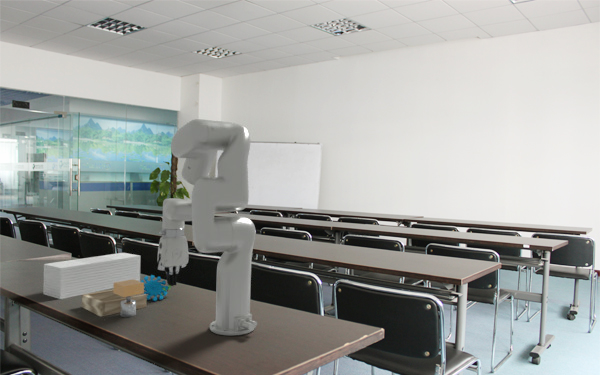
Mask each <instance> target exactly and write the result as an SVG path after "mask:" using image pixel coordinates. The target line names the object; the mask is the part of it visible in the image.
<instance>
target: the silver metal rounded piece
mask: <svg viewBox="0 0 600 375" xmlns="http://www.w3.org/2000/svg"><path fill="white" fill-rule="evenodd" d="M119 314H120V317H123V318H132V317H134V316H136V315H137V309H136V301H135V300H131V296H127V297H126V300H124V301H121V311H120V313H119Z"/></svg>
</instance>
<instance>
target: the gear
mask: <svg viewBox="0 0 600 375" xmlns="http://www.w3.org/2000/svg"><path fill="white" fill-rule="evenodd" d="M149 278H150V280H148V279H149ZM154 278H155V279H154ZM161 280H162V278H161V276H157V278H156V276H155V275H154V274H150V276H144V277H143V279H140V282H143V283H144V294H146V295H147V300H148V301H149V300H150V299H151V298H152V297H153V298H152V301H154V302H157V300H158V299H159V301H161V300H163V299H164V297H166V296H167V295H168V290H171V288H172V286H171V285H168V284H167V285H166V283H167V281H166V280H162V281H161ZM140 295H142V294H140ZM158 296H159V297H158Z"/></svg>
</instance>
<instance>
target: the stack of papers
mask: <svg viewBox="0 0 600 375" xmlns="http://www.w3.org/2000/svg"><path fill="white" fill-rule="evenodd" d="M133 279H134V280H137V281H141V255H139V254H134V253H133V254H132V253H127V252H119V253H111V254H105V255H98V256H90V257H84V258H77V259H70V260H65V261H64V260H63V261H62V260H61V261H56V262H49V263H44V264H43V285H42V286H43V287H42V288H43V289H42V290H43V291H42V292H43V293H42V295H45V296H48V297H52V298H55V299H58V300H64V299H68V298H73V297H78V296H82V294H88V293H94V292H100V291H106V290H111V289H113V288H114V282H120V281H126V280H133Z"/></svg>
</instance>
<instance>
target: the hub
mask: <svg viewBox="0 0 600 375" xmlns="http://www.w3.org/2000/svg"><path fill="white" fill-rule="evenodd" d="M140 281H141V280H140ZM140 281H137V280H134V279H133V280H126V281H120V282H114V288H112V289H113V293H115V294H117V295H119V296H122V297H127V296H137V295H141V294H144V292H145V290H144V288H145V287H144V283H145V282H144V283H143V282H140Z"/></svg>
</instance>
